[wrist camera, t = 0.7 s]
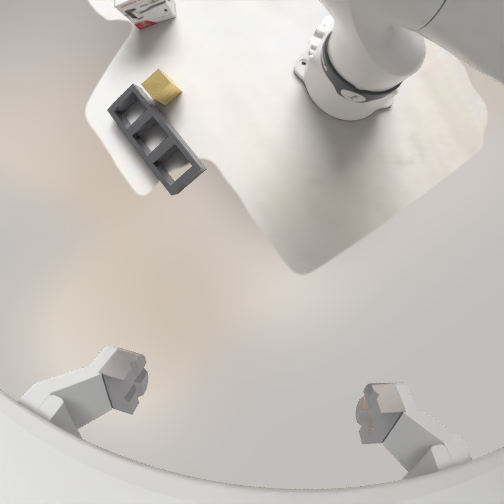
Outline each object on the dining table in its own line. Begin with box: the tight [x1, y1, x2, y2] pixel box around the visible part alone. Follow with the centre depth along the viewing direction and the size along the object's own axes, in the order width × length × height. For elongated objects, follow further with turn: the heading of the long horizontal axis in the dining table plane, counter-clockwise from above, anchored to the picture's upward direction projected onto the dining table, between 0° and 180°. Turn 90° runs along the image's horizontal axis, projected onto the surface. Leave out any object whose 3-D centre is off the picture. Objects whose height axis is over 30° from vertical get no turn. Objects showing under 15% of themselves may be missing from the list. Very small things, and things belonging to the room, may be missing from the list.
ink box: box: [114, 0, 176, 29], centre depth 34 cm, size 9×5×12 cm, turn 98°
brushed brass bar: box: [141, 69, 182, 105], centre depth 42 cm, size 4×4×6 cm
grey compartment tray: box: [107, 84, 206, 195], centre depth 46 cm, size 22×7×4 cm, turn 38°
